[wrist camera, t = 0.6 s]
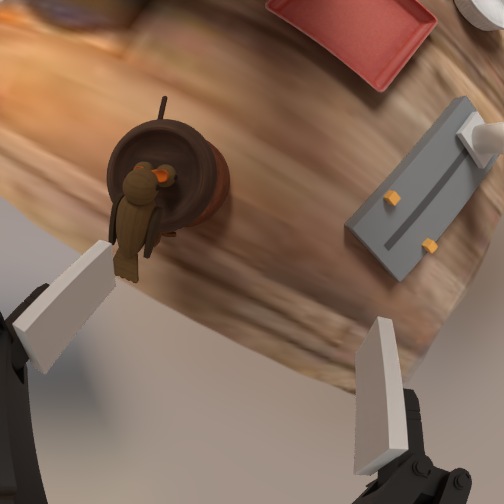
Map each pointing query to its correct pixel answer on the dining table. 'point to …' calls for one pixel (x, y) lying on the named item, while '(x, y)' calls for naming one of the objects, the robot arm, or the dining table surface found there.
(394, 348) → the robot arm
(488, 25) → the ramekin
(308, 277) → the dining table surface
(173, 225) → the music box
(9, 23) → the dining table surface
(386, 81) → the plant saucer
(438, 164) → the fader console
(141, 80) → the dining table surface
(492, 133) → the handle
